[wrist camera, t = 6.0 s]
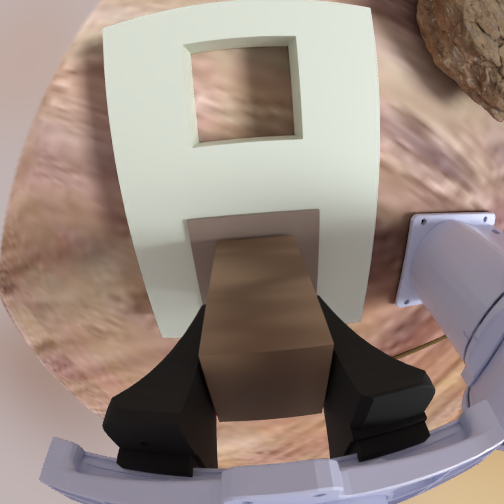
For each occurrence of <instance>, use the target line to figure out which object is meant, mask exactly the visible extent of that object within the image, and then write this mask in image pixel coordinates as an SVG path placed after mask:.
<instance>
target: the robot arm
mask: <svg viewBox="0 0 504 504" xmlns="http://www.w3.org/2000/svg"><path fill="white" fill-rule="evenodd" d="M423 219H424V221H423V222H422V223H421V221H422V220H423ZM494 221H495V214H494V213H492V212H461V213H427V214H415V215H413V216H412V218H411V221H410V228H409V235H408V241H407V247H406V253H405V258H404V263H403V268H402V273H401V278H400V283H399V287H398V292H397V296H396V300H395V304H396V305H397V307H406V306H411V305H416V304H422V303H423V304H424V306H425V307H426V308H427V310H428V311H429V312H430V314H431V315H432V316H433V318H434V319H435V321H436V322H437V323H438V325H439V326H440V328H441V329H442V330H443V332H444V333H445V335H446V336H447V338H448V339H449V341H450V342H451V344H452V345H453V346H454V348H455V349H456V351H457V352H458V354H459V356H460V357H461V359H462V360H463V362H464V363H465V368H464V370H463V371H462V373H461V376H462V377H463V379H464V381H465V382H466V384H467V388H466V389H465V392H464V394H463V399H462V410H463V413H462V414H461V415H460V417H459V419H457V420H455V421H452V422H450V423H448V424H445V425H443V426H441V427H438V428H436V429H433V430H431V431H429V430H428V428H427V426H426V423H425V421H426V419H427V416H426V414H425V412H424V411H425V409H426V408H427V406H428V405H429V403H430V402H431V400H432V398H433V396H434V394H435V388H434V386H433V384H432V382H431V380H430V378H429V377H428V375H427V374H426V372H425V371H424V370H422V369H419V368H416V367H413V366H411V365H408V364H405V363H403V362H401V361H399V360H397V359H395V358H393V357H391V356H389V355H387V354H385V353H384V352H382V351H380V350H379V349H377V348H375V347H374V346H372V345H371V344H369V343H368V342H367V341H365V340H364V339H362V338H361V337H360V336H359V335H357V334H356V333H355V332H354V331H353V330H352V329H351V328H349V327H348V326H347V325H346V324H345V323H344V322H343V321H342V320H341V319H340V318H339V317H338V316H337V315H336V314H335V313H334V312H333V311H332V309H331V308H330V307H329V306H328V305H327V304H326V303H325V302H324V300H323V299H322V298H321V297H320V296H319V295H317V298H318V301H319V303H320V306H321V309H322V311H323V314H324V317H325V320H326V323H327V325H328V328H329V331H330V334H331V337H332V339H333V342H334V348H333V354H332V360H331V366H330V372H329V378H328V383H327V389H326V394H325V399H324V404H323V408H324V414H325V421H326V427H327V435H328V442H329V451H330V459H328V458H321V459H310V460H303V461H296V462H287V463H277V464H265V465H247V466H238V467H232V468H229V469H218V462H217V436H216V411H215V408H214V405H213V402H212V398H211V395H210V392H209V389H208V386H207V383H206V379H205V376H204V373H203V369H202V366H201V363H200V359H199V356H198V355H199V348H200V341H201V334H202V328H203V321H204V315H205V309H206V304H203V305H202V306H201V307H200V309H199V311H198V313H197V315H196V316H195V318H194V320H193V321H192V323H191V324H190V326H189V327H188V329H187V330H186V332H185V333H184V335H183V336H182V337H181V339H180V340H179V341H178V343H177V344H176V345H175V347H174V348H173V349H172V350H171V351H170V353H169V354H168V355H167V356H166V357H165V358H164V359H163V360H162V361H161V362H160V363H159V364H158V365H157V366H156V367H155V368H154V369H153V370H152V371H151V372H150V373H148V374H147V375H146V376H145V377H143V378H142V379H141V380H140V381H138V382H137V383H135V384H134V385H133V386H131V387H130V388H128V389H126V390H125V391H123V392H121V393H120V394H118V395H116V396H114V397H113V398H112V399H111V401H110V404H109V406H108V409H107V412H106V415H105V418H104V421H103V425H102V426H103V429H104V431H105V432H106V433H107V435H108V436H109V437H110V438H111V439H112V440H113V441H114V442H115V443H116V444H117V445H118V446H119V447H120V448H119V453H118V456H117V459H116V458H111V457H107V456H102V455H98V454H94V453H89V452H85V451H84V450H83V449H82V448H81V447H80V446H79V445H78V444H76V443H74V442H71V441H68V440H64V439H61V438H58V437H53V438H52V441H51V444H50V447H49V450H48V453H47V456H46V459H45V462H44V465H43V468H42V472H41V475H40V481H41V482H43V483H44V484H46V485H48V486H49V487H51V488H52V489H54V490H56V491H57V492H59V493H61V494H63V495H64V496H66V497H68V498H70V499H72V500H74V501H77V502H80V503H83V504H397V503H400V502H402V501H405V500H407V499H410V498H412V497H414V496H417V495H419V494H421V493H423V492H426V491H428V490H430V489H432V488H434V487H436V486H438V485H440V484H442V483H444V482H446V481H448V480H450V479H452V478H454V477H456V476H457V475H459V474H461V473H463V472H465V471H467V470H468V469H470V468H472V467H473V466H475V465H477V464H478V463H480V462H481V461H482V460H483V459H485V458H486V457H487V456H488V455H490V454H491V453H492V452H493V451H494V450H495V449H496V450H501V451H504V232H503V231H501V230H500V229H498V228H497V227H496V226H494ZM406 300H407V301H406Z"/></svg>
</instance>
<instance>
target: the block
mask: <svg viewBox="0 0 504 504" xmlns="http://www.w3.org/2000/svg"><path fill="white" fill-rule="evenodd" d="M333 348H334V342H333V339H332V337H331V334H330V331H329V328H328V325H327V323H326V320H325V317H324V314H323V311H322V309H321V306H320V303H319V301H318V298H317V295H316V292H315V290H314V287H313V284H312V282H311V279H310V277H309V274H308V271H307V269H306V266H305V264H304V261H303V258H302V256H301V253H300V251H299V248H298V246H297V243H296V241H295V238H294V236H293V235H291V236H278V237H265V238H253V239H241V240H229V241H217V244H216V250H215V255H214V261H213V267H212V273H211V278H210V284H209V290H208V296H207V303H206V309H205V315H204V321H203V328H202V334H201V341H200V348H199V355H198V356H199V359H200V363H201V366H202V369H203V373H204V376H205V379H206V383H207V386H208V389H209V392H210V395H211V398H212V402H213V405H214V408H215V411H216V414H217V417H218V419H219V422H227V421H251V420H266V419H277V418H287V417H296V416H304V415H311V414H318V413H322V409H323V404H324V399H325V394H326V389H327V383H328V378H329V372H330V366H331V360H332V354H333Z"/></svg>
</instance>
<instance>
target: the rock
mask: <svg viewBox="0 0 504 504" xmlns="http://www.w3.org/2000/svg"><path fill="white" fill-rule="evenodd" d="M416 18H417V23H418V25H419V27H420V32H421V36H422V38H423V40H424V41H425V44H426V48H427V50H428V51H429V52H430V53H431V54H432V57H433V61H434V64H435V65H436V66H437V67H438V68H439V69H440V70H442V71H443V72H444V73H445V74H446V75H448V76H449V77H450V78H452V79H453V80H455V81H456V82H457V84H458V85H459V86H460V88H461V89H462V90H463V91H464V92H465V93H466V94H467V95H468V96H470V97H471V99H472V100H473V101H474V102H476V103H477V104H479V105H481V106H482V107H483V108H484V109H485V110H487V112H488V113H489V114H490V115H491V116H492V117H493V118H494V119H496V120H497V121H499V122H502V121H503V120H504V0H418V4H417V14H416Z"/></svg>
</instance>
